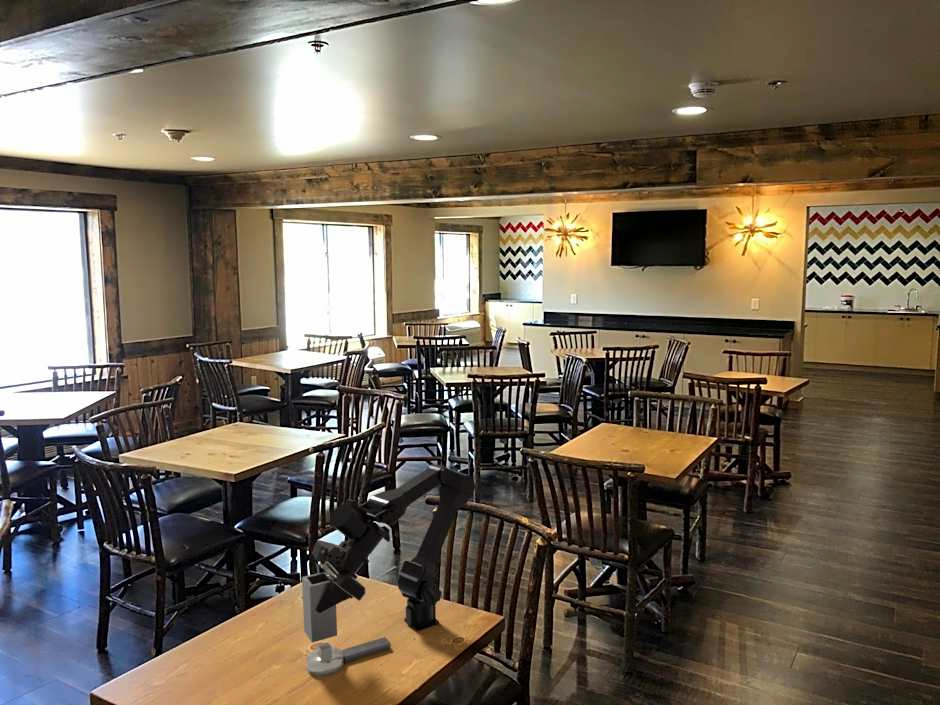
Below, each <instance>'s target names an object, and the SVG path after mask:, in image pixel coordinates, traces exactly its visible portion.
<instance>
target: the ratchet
mask: <svg viewBox="0 0 940 705" xmlns="http://www.w3.org/2000/svg"><path fill="white" fill-rule="evenodd" d="M316 647H317V648H315V649H313V650H312V651H310V652H309V653H308V654H307V656H306V658H305V662H306V663H305V665H306V666H305V667H306V671H307V672H308V673H309V674H310V675H313V676H320V677H321V676H322V677H323V676H329V675H332V674H337V672H339V671H341V669H342V668H343V667H344V664H347V663H350V662H353V661H356V660H359V659H363V658H366V657H369V656H372V655H375V654H379V653H382V652H385V651H389V650H391V649H392V648H391V647H392V643H391V641H390V640H389V639H388V638H387V637H385V636H384V637H380V638H377V639H374V640H370V641H367V642H364V643H361V644H357V645H354V646H350V647H347V648H343V649H340V648H338V647H334V646H332V645H331V644H330V643H329V641H326V642H322V643H319V644H317V646H316Z"/></svg>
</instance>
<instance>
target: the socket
mask: <svg viewBox="0 0 940 705" xmlns="http://www.w3.org/2000/svg"><path fill="white" fill-rule="evenodd" d="M330 579H331V580H333V581H334V582H335V580H334V579H333V578H332V577H331V576H330V574H329V573H328V572H327V571H326V572H321V573H317V572H316V573H314V574H310V575H304V576H302V577H301V584H302V585H301V591H302V608H303V611H302V613H303V629H304V630H303V631H304V633H305V634H306V636H307V637H308V639H309V640H310V642H311V643H316V642H319V641H323V640H326V639H330V638H334V637H337V636H338V624H337V623H338V621H337V620H338V617H337V604H336V605H334V606H332V607H331V608H329V609H327V610H325V611H323V612H321V613H318V612H317V611H316V609H317V607H318V606H319V604H320V602H321V601H322V599H323V598H324V596H325V595H326V593H327V591H328V590H329V588H330Z"/></svg>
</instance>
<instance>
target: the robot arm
mask: <svg viewBox="0 0 940 705" xmlns="http://www.w3.org/2000/svg"><path fill="white" fill-rule="evenodd" d="M438 486H439V489H438V496H439V504H438V506H437V508H436V509H435V512H434V515H433V517H432V519H431V522H430V524H429V526H428V529H427V531H426V533H425V535H424V537H423V540H422V543H421V544H420V546H419V548H418V549H419V550H418V551H417V554H416V555H415V556H414V557H413V558H412V559H410V560H408V559H405V560H404V561H403V563H402V566H401V569H400V570H399V572H398V574H397V576H398V578H397V581H396V582H397V583H396V584H397V587H398V590H399V591H400V593H401V596H402V597H404V598H406V606H405V618H404V619H403V620H404V622H405V623H406V624H408V626H410V627H411V628H412V629H413V630H415V631H417V632H420V631H422V630H426V629H428V628H430V627H434V626H437V625H439V624H440V621H439V620H438V619H437V618H436V616H437V615H436V614H437V613H436V611H437V610H436V608H437V607H436V605H437V603H438V602H439V601H441V596H442V590H440V589H439V588H438V587H437V586H435V583H436V582H435V581H436V577H437V574H436V562H437V560H438V558H439V555H440V553H441V551H442V548H443V547H444V544H445V542H446V539H447V536H448V535H449V533H450V530H451V527H452V525H453V522H454V520H455V518H456V515H457V514H458V511H459V510H461V509H462V508H463V507H464V506H465V505H467V503H469V502H470V501H469V500H471V497H472V495H473V494H474V492H475V490H476V482H475V479H474V477H473V476H472V475H470V474H467V473H464V472H463V473H461V472H459V471H454V470H451V469H450V468H448V467H446V466H444V465H440V464H435V463H433V464H430V465H429V466H428V467H427V468H426V469H425V470H423V471H422V472H420V473H418V474H417V475H415V476H413V477H412V478H411V479H409V480H408V481H406V482H404V483H403V484H401V485H400V486H399V487H397V488H393V489H389V490H385V491H384V490H383V491H381V492H379V493H376V494H374V495H371V496H370V498H369V499H368V500H366V501H364V503H361V504H359V505H358V503H357V502H356V501H355V500H352V499H350V498H349V499H347V500H346V501H345V503H342V504H339V505H338V506H337V507H336V508H335V509H333V511H332V512H331V514H330V518H329V524H330V526H332V527H333V528H334V529H335V530H336V531H338V532H339V533H341V534H342V535H344V536H345V537H346V538H348V540H347V541H346V540H342V541H341V542H340V543H339V544H335V543H333V542H330V541H329V542H328V541H325V540H320V539H317V540H316V542H315V544H314V546H313V549H312V552H311V555H312V557H313V558H314V560H316V563H315V566H316V574H317V573H321V572H326V571H327V572H328V573H329V574H330V576H331V577H332V578H333V579H334V580H335V582H334V581H333V580H331V579H330V588H329V590H328V591H327V593H326V595H325V596H324V598H323V599H322V601H321V602H320V604H319V606H318V607H317V609H316V611H317V612H318V613H321V612H323V611H325V610H327V609H329V608H331V607H332V606H334V605H336V606H337V605H338V604H340V603H342V602H345V601H347V600H349V599H353V598H354V599H356V600H357V601H362V599H363V597H364V596H365V595H366V587H365V586H364V585H363V584H362V583H361V582H360V581H359V580H357V578H358V575H357V574H356V573H357V572H358V571H359V569H361V567H362V566H363V564H364V565H367V566H368V564H369V563H370V560H369V556H370V555H371V554H372V553H373V552H374V550H375V549H376V548H377V546H378V545H379V544H380V542H382V540H385V541H386V542H387V543H390V541H391V537H390V531H391V530H390V529H389V528H388V527H387V526H386V525H388V526H391V525H394V524H395V523H397V522H398V521H399V520H400V519H401V518H402V517H403V516H404V515H405V513H406V511H407V508H408V507H409V506H410V505H411V504H413V503H414V502H416V501H417V500H419V499H421V498H422V497H423V496H425V495H427V493H429V492H431V491H432V490H434V489H435V488H437V487H438ZM379 524H385V525H383V526H381V525H379ZM317 562H318V563H317Z"/></svg>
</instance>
